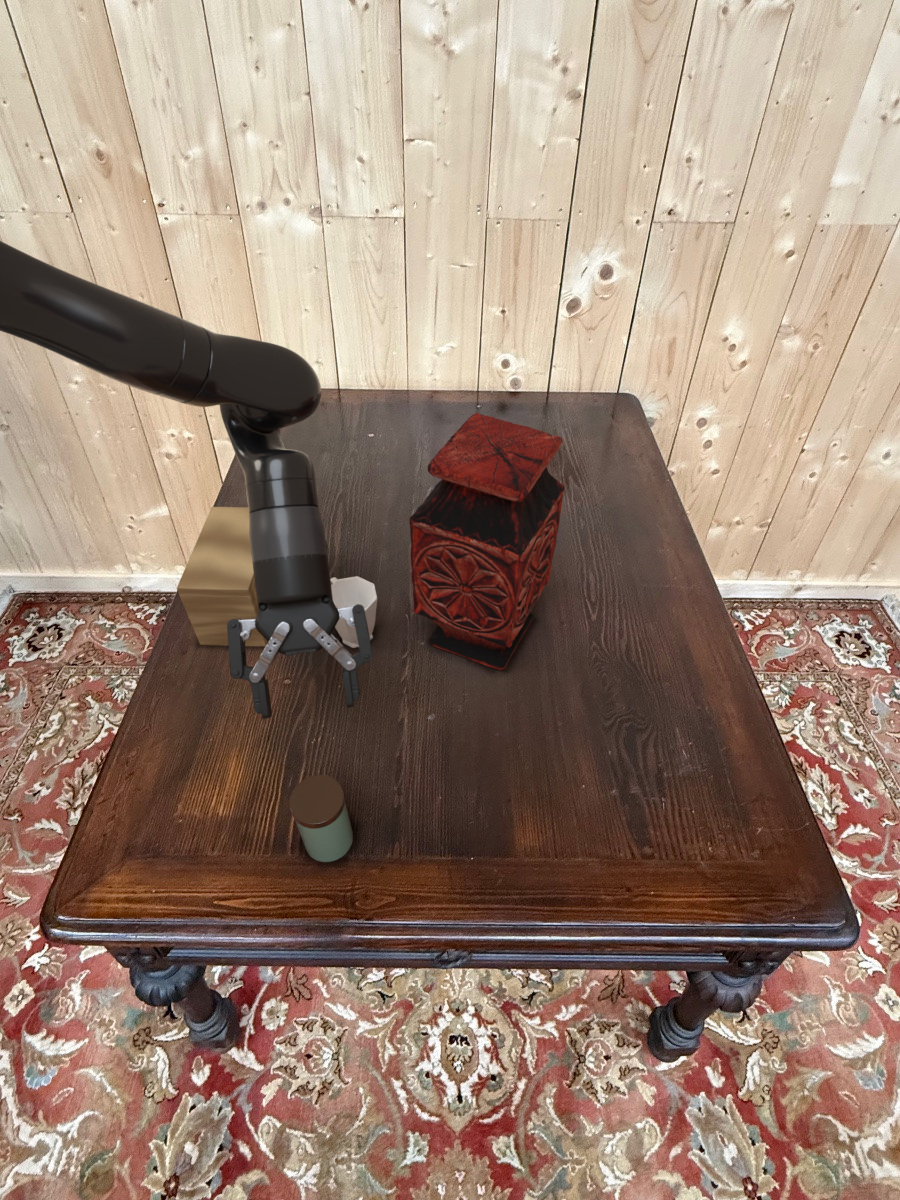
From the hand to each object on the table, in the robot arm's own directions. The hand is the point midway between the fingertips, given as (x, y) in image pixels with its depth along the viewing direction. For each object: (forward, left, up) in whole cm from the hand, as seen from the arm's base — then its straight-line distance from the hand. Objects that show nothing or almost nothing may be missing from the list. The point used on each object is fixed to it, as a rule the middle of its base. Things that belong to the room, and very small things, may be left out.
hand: (309, 711), depth 71 cm
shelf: (+13, +28, -12) cm, 33 cm away
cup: (+18, +12, -13) cm, 25 cm away
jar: (-6, -6, -12) cm, 15 cm away
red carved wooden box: (+28, -3, -13) cm, 31 cm away
